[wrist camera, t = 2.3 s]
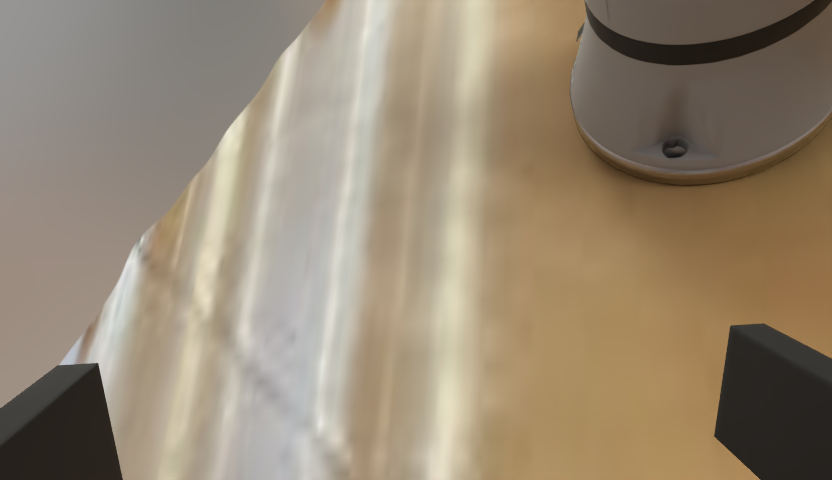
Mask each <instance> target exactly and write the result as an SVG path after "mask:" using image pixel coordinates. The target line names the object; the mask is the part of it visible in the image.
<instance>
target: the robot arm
mask: <svg viewBox="0 0 832 480" xmlns="http://www.w3.org/2000/svg"><path fill="white" fill-rule="evenodd" d="M585 6H586V14H587V15H586V19H585V23H584V24H583V26H582V27H581V28H580V30H579V32H578V36H577V40H578V39H579V37H580V36H581V34H582V36H581V41H580V45H579V50H578V54H577V57H576V60H575V63H574V66H573V70H572V75H571V81H570V98H571V104H572V108H573V113H574V117H575V121H576V124H577V127H578V129H579V132H580V134H581V135H582V137H583V139H584V140H585V142H586V143H587V144H588V146H589V147H590V148H591V149H592V150H593V151H594V152H595V153H596V154H597V155H598V156H599V157H600V158H602V159H603V160H604V161H606V162H607V163H609V164H610V165H612V166H613V167H615V168H617V169H619V170H621V171H623V172H625V173H628V174H630V175H632V176H635V177H639V178H642V179H645V180H650V181H654V182H660V183H667V184H679V185H699V184H711V183H718V182H724V181H729V180H733V179H737V178H741V177H745V176H748V175H751V174H754V173H757V172H759V171H762V170H764V169H767V168H769V167H771V166H773V165H775V164H777V163H779V162H781V161H783V160H785V159H786V158H788V157H789V156H791V155H793V154H794V153H796V152H797V151H798V150H800V149H801V148H802V147H804V146H805V145H806V144H808V143H809V142H810V141H811V140H812V139H813V138H814V137H815V136H816V135H817V134H818V133H819V132H820V131H821V130H822V129H823V127H824V126H825V125H826V124H827V122H828V121H829V119H830V118H831V116H832V0H585ZM576 42H577V41H576ZM714 437H716V438H717V439H718V440H719V441H720V442H721V443H722V444H723V445H724V446H725V447H726V448H727V449H728V450H729V451H731V452H732V453H733V454H734V455H735V456H736V457H737V458H738V459H739V460H740V461H741V462H742V463H743V464H744V465H745V466H747V467H748V468H749V469H750V470H751V471H752V472H753V473H754V474H755V475H756V476H757V477H758V478H759V479H760V480H832V359H831V358H829V357H827V356H825V355H823V354H821V353H820V352H818V351H816V350H814V349H812V348H810V347H808V346H806V345H804V344H802V343H800V342H798V341H796V340H795V339H793V338H791V337H789V336H787V335H785V334H783V333H781V332H779V331H777V330H775V329H773V328H772V327H770V326H768V325H766V324H749V325H732V326H730V332H729V339H728V346H727V353H726V360H725V367H724V373H723V380H722V387H721V394H720V401H719V408H718V414H717V421H716V428H715V435H714ZM0 480H123V479H122V474H121V469H120V465H119V460H118V455H117V450H116V446H115V441H114V436H113V432H112V427H111V422H110V417H109V413H108V408H107V403H106V398H105V394H104V389H103V384H102V379H101V375H100V370H99V365H98V363H93V364H76V365H59V366H56V367H55V368H54V369H53V370H51V371H50V372H48V373H47V374H46V375H44V376H43V377H42V378H40V379H39V380H38V381H36V382H35V383H34V384H32V385H31V386H30V387H28V388H27V389H26V390H25V391H23V392H22V393H20V394H19V395H18V396H16V397H15V398H14V399H12V400H11V401H10V402H8V403H7V404H6V405H4V406H3V407H2V408H0Z"/></svg>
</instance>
